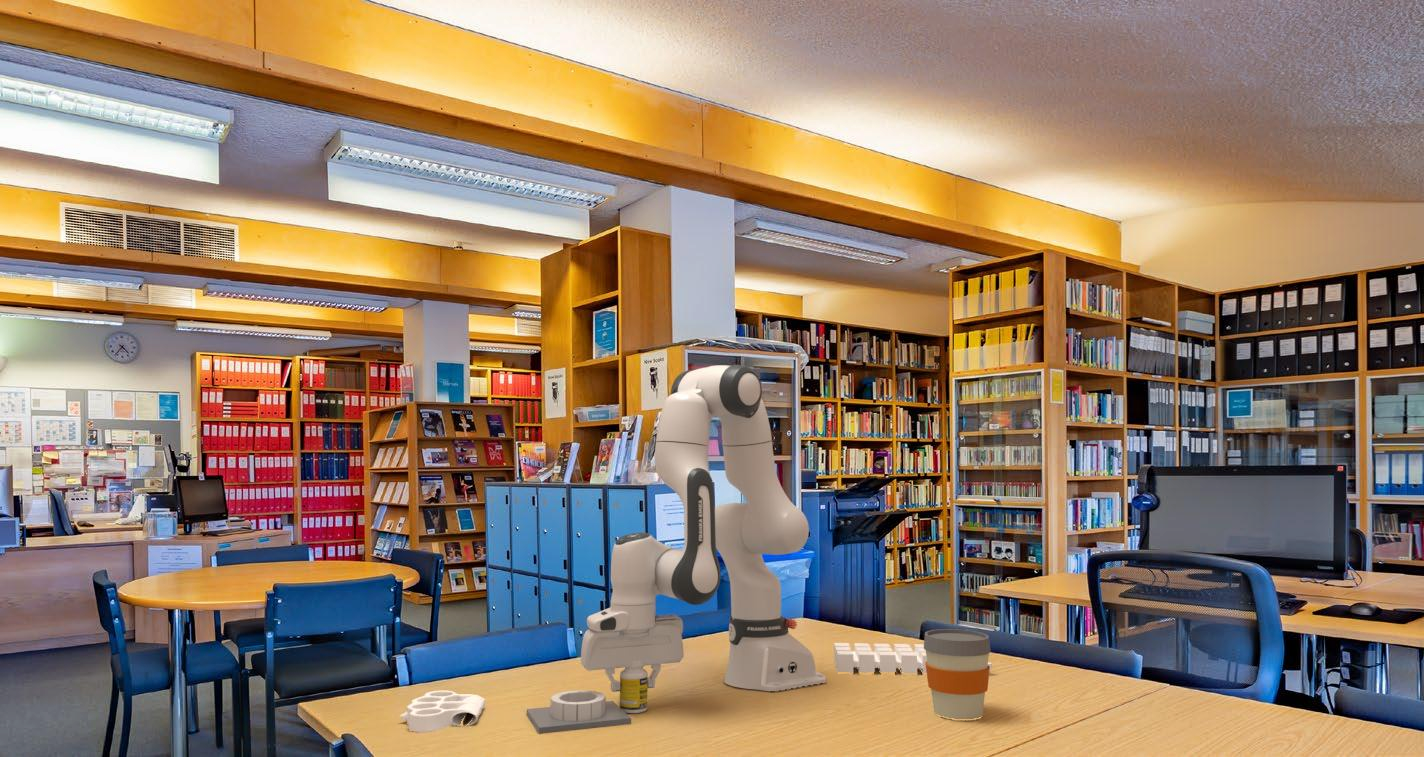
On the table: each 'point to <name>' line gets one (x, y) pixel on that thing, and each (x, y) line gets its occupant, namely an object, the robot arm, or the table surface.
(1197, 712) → the table surface
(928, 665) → the reusable coffee cup
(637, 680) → the supplement bottle
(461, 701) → the white multi-hole bracket
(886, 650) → the organizer
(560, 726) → the mount plate
